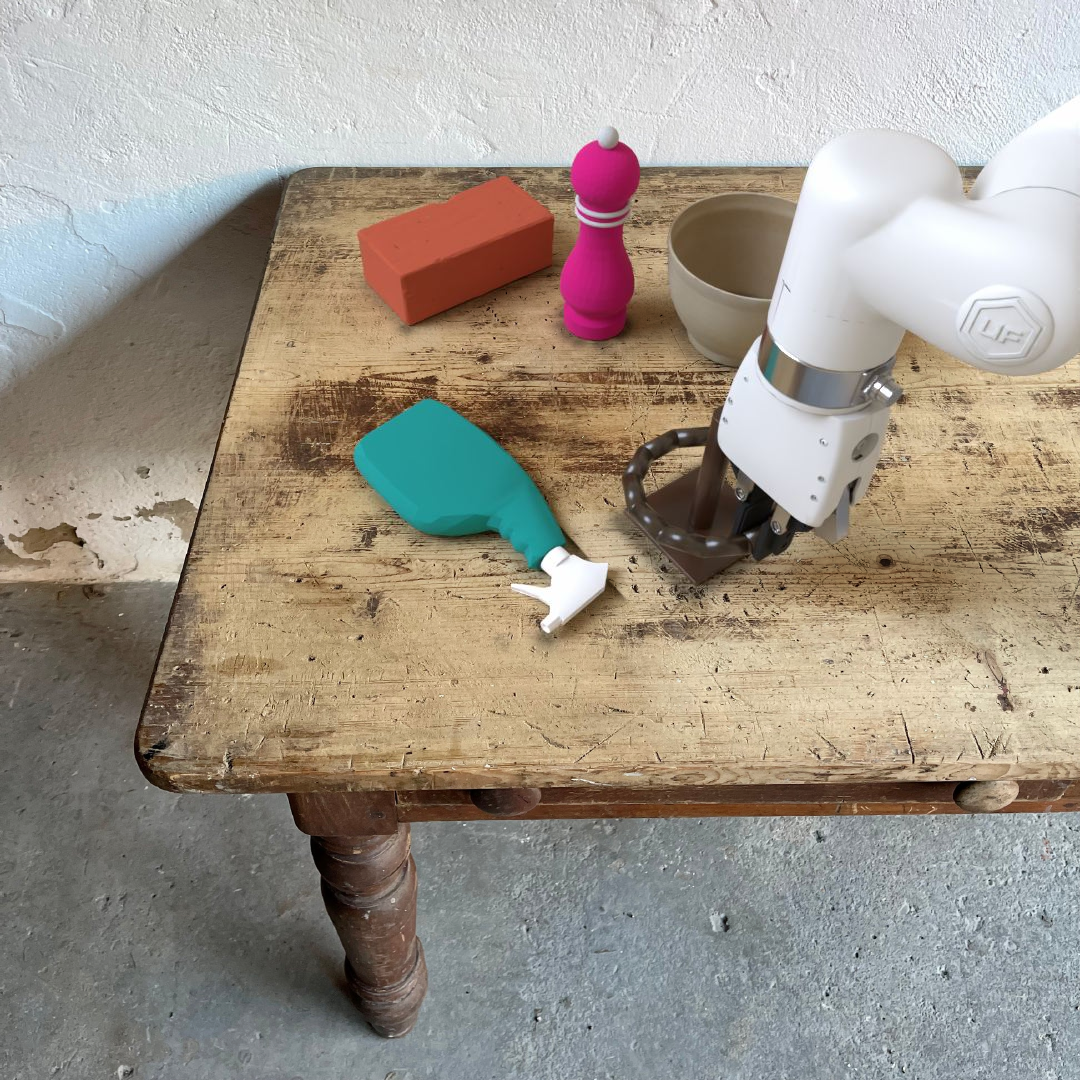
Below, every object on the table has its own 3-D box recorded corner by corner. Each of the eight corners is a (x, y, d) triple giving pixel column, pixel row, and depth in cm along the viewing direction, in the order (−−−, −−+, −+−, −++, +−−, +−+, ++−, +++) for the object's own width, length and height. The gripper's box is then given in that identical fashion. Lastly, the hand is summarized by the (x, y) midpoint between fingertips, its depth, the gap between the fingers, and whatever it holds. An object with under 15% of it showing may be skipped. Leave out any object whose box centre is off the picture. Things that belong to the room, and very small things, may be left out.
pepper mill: (554, 340, 88) (560, 146, 72) (563, 294, 92) (570, 102, 76) (627, 348, 87) (650, 154, 71) (632, 301, 91) (655, 108, 75)
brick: (407, 327, 89) (401, 276, 84) (364, 281, 93) (355, 230, 88) (554, 265, 95) (555, 214, 90) (507, 224, 99) (506, 174, 95)
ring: (828, 509, 69) (833, 495, 68) (700, 589, 64) (703, 576, 63) (712, 416, 76) (715, 401, 75) (589, 482, 71) (590, 467, 70)
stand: (776, 539, 73) (818, 426, 63) (693, 592, 70) (723, 482, 59) (703, 472, 77) (730, 355, 67) (622, 518, 74) (637, 403, 64)
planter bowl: (681, 404, 82) (699, 309, 74) (636, 296, 92) (647, 200, 83) (844, 382, 84) (880, 287, 76) (783, 278, 94) (809, 183, 85)
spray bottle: (441, 409, 82) (636, 573, 71) (343, 469, 77) (536, 654, 67) (439, 385, 79) (640, 552, 69) (338, 446, 75) (536, 634, 64)
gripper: (973, 405, 50) (871, 588, 65) (776, 263, 58) (724, 456, 72) (882, 461, 47) (797, 639, 62) (688, 305, 55) (653, 496, 70)
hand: (758, 539), depth 67 cm, fingers closed on ring, 1 cm apart
